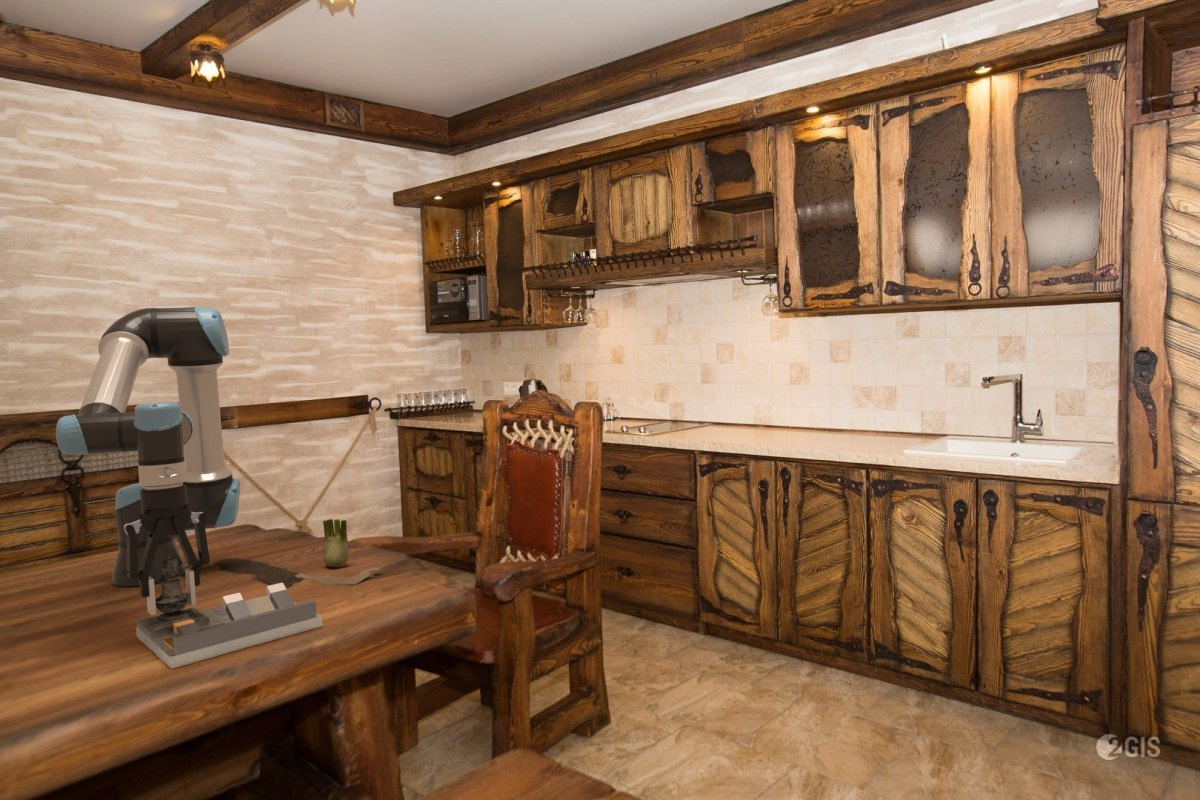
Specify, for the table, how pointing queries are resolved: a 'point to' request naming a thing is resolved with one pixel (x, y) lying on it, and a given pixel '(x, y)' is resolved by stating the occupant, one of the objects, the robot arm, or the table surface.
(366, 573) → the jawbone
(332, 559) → the fennel bulb
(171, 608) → the stone stupa figurine
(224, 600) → the block
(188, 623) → the block
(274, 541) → the table surface
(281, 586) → the block
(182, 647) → the panel
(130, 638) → the table surface
